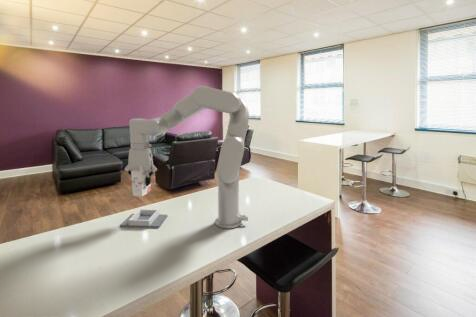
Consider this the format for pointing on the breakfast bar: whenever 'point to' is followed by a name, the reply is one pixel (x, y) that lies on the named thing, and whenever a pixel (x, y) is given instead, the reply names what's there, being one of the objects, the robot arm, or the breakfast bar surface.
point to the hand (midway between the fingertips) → (141, 184)
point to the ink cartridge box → (139, 182)
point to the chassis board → (144, 219)
